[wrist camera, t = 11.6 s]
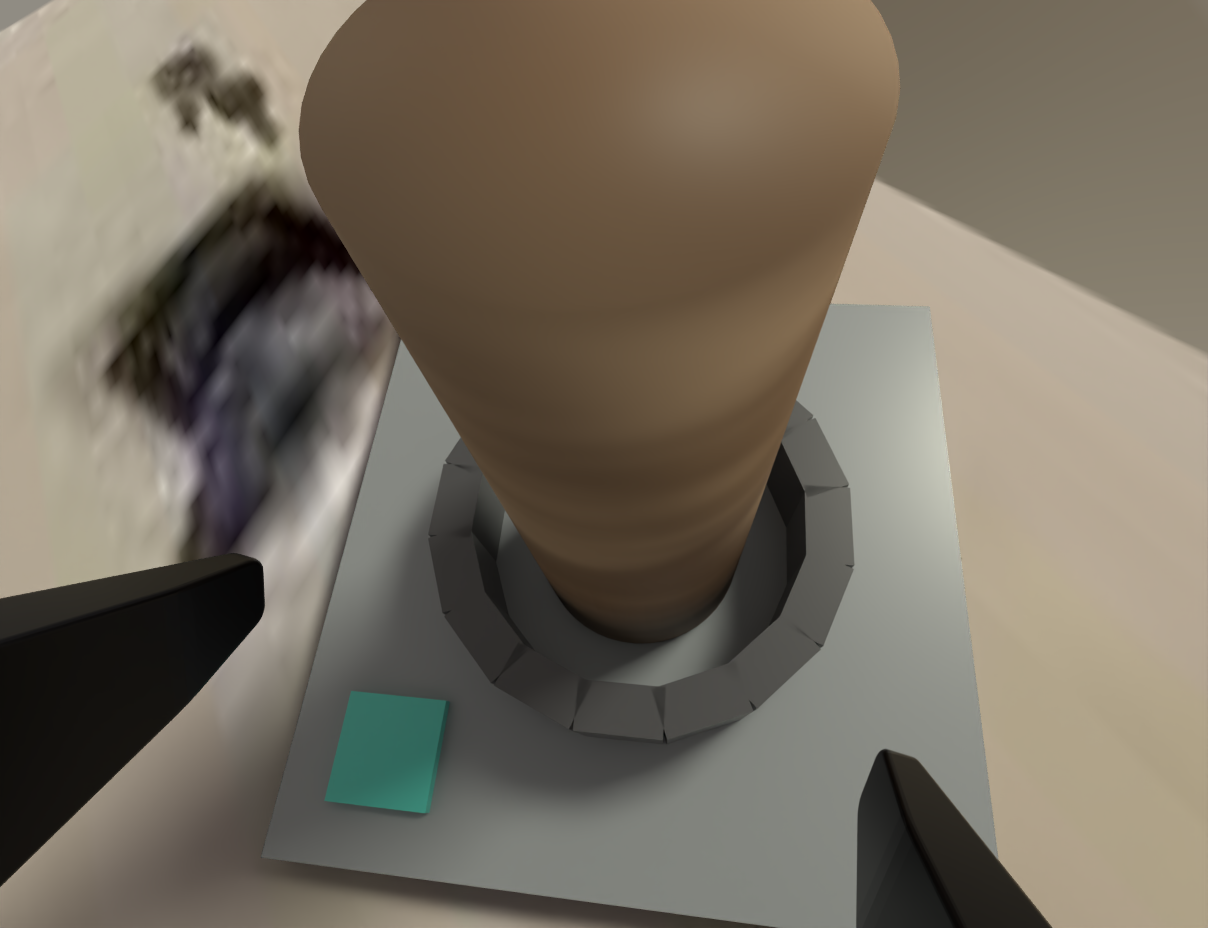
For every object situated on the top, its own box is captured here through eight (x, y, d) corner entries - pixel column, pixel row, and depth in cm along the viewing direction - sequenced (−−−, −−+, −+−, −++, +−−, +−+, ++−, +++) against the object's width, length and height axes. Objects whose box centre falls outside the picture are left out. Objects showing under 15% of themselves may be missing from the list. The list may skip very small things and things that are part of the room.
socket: (988, 946, 14) (1082, 998, 11) (283, 852, 16) (188, 873, 13) (917, 326, 21) (964, 246, 17) (424, 311, 22) (384, 236, 19)
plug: (652, 687, 16) (616, 446, 4) (506, 556, 18) (186, 118, 6) (776, 535, 17) (1019, 20, 5) (630, 427, 19) (574, -144, 7)
